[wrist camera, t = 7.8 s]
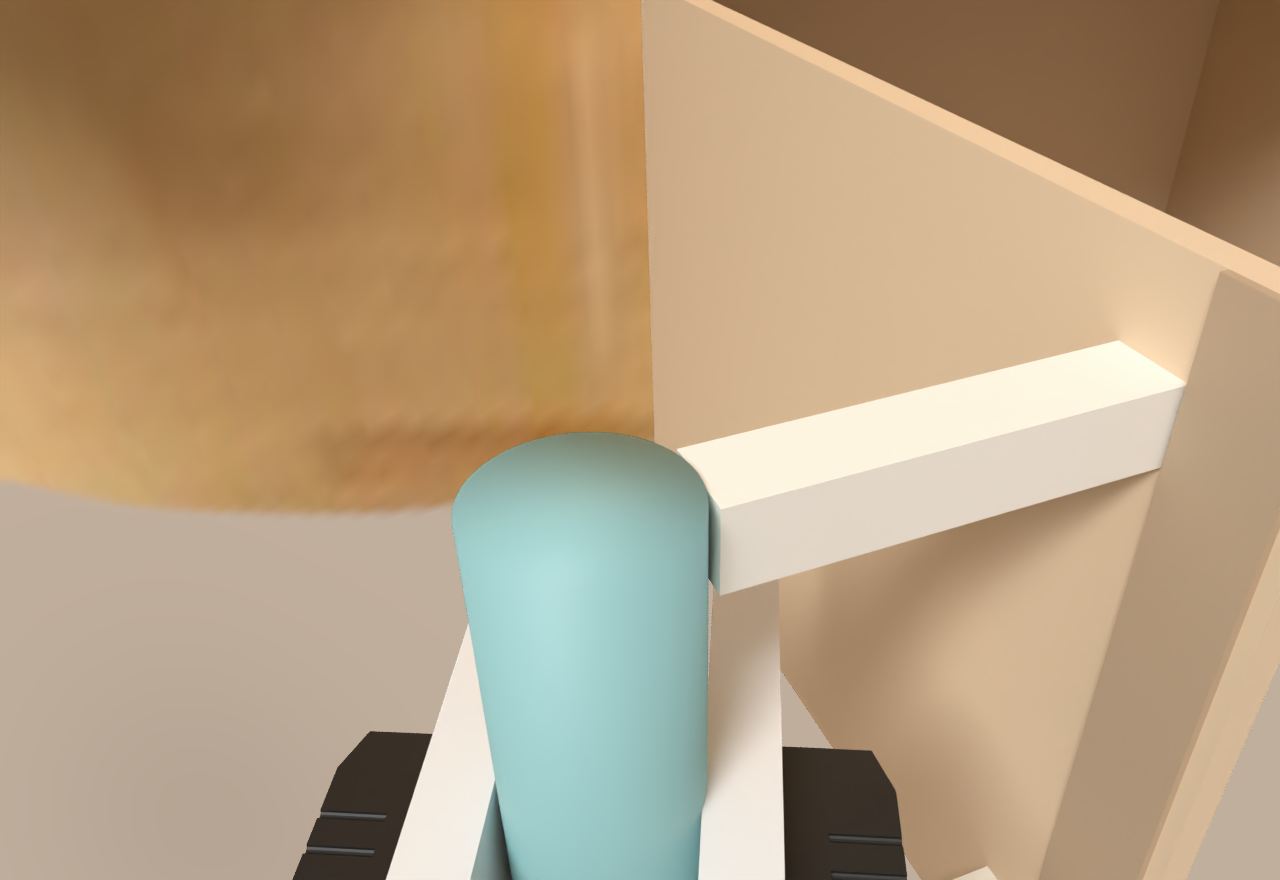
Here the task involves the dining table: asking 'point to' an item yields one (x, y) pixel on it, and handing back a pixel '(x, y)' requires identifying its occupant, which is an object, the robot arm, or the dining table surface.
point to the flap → (894, 490)
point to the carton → (1090, 89)
